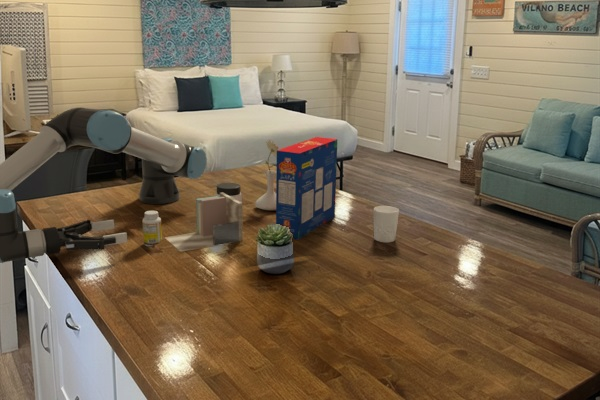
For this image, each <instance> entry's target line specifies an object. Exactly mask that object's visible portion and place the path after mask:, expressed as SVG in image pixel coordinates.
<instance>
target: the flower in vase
mask: <svg viewBox="0 0 600 400" xmlns="http://www.w3.org/2000/svg"><path fill="white" fill-rule="evenodd" d="M266 145H267V148H268V150H269V151H270V152H269V155H268V158H267V160H265V163H264V164H265V165H267V166H268V170H265V171H263V173H264V174H265V175H264V176H265V177H266V181H267V190H266V192H265V193H264V194H262V195H261V196H260V197H258V199H257V200H256V201H255V202H254V205H255V207H256V208H258V209H260V210H263V211H276V192H275V188H274V187H275V186H274V185H275V184H274V183H275V178H276V170H271V169H270V168H272V167H274V166H276V164H275V163H274V164H272V165H269V164H270V163H269V160H270V156H272V155H273V156H274V157H275V158H277V150H279V147H278V146H277V145H276V143H275V142H274V141H271V140H270V139H268V140H267V141H266ZM271 154H272V155H271Z"/></svg>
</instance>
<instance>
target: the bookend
mask: <svg viewBox="0 0 600 400" xmlns="http://www.w3.org/2000/svg"><path fill="white" fill-rule="evenodd" d="M232 242H233V243H239V242H240V241H239V222H231V223H225V224H219V225H213V245H216V246H220V245H221V244H222V245H226V243H227V244H233V243H232ZM222 245H221V246H222Z"/></svg>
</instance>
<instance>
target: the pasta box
mask: <svg viewBox="0 0 600 400" xmlns="http://www.w3.org/2000/svg"><path fill="white" fill-rule="evenodd" d="M337 161H338V139H337V138H332V137H331V138H329V137H320V136H315V137H312V138H310V139H307V140H303V141H301V142H298V143H294V144H292V145H289V146H286V147H282V148H280V149H278V150H277V157H276V169H275V171H276V176H275V178H276V181H275V182H276V183H275V184H276V188H275V189H276V192H275V193H276V210H275V211H276V212H275V225H276V224H280V225H282V226H286V227H289V229H290V232H291V233H292V234H293V238H292V239H293V240H296V241H299V240H301V239H302V238H304V237H305V236H307V235H309V233H310V234H311V232H313V231H314V230H315V231H316V230H317V229H318V228H319V227H321V226H322V225H324V224H326V223H328V222H329V221H331V220H332V219H334V218H335V217H336V214H335V213H336V195H337V194H336V190H337V188H336V187H337V164H338V163H337Z"/></svg>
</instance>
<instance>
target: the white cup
mask: <svg viewBox="0 0 600 400" xmlns="http://www.w3.org/2000/svg"><path fill="white" fill-rule="evenodd" d="M399 212H400V209H399V208H398V207H395V206H391V205H390V206H389V205H378V206H375V207H374V208H373V240H375V241H376V242H380V243H392V242H395V240H396V234H397V229H398V221H399V214H400V213H399Z"/></svg>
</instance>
